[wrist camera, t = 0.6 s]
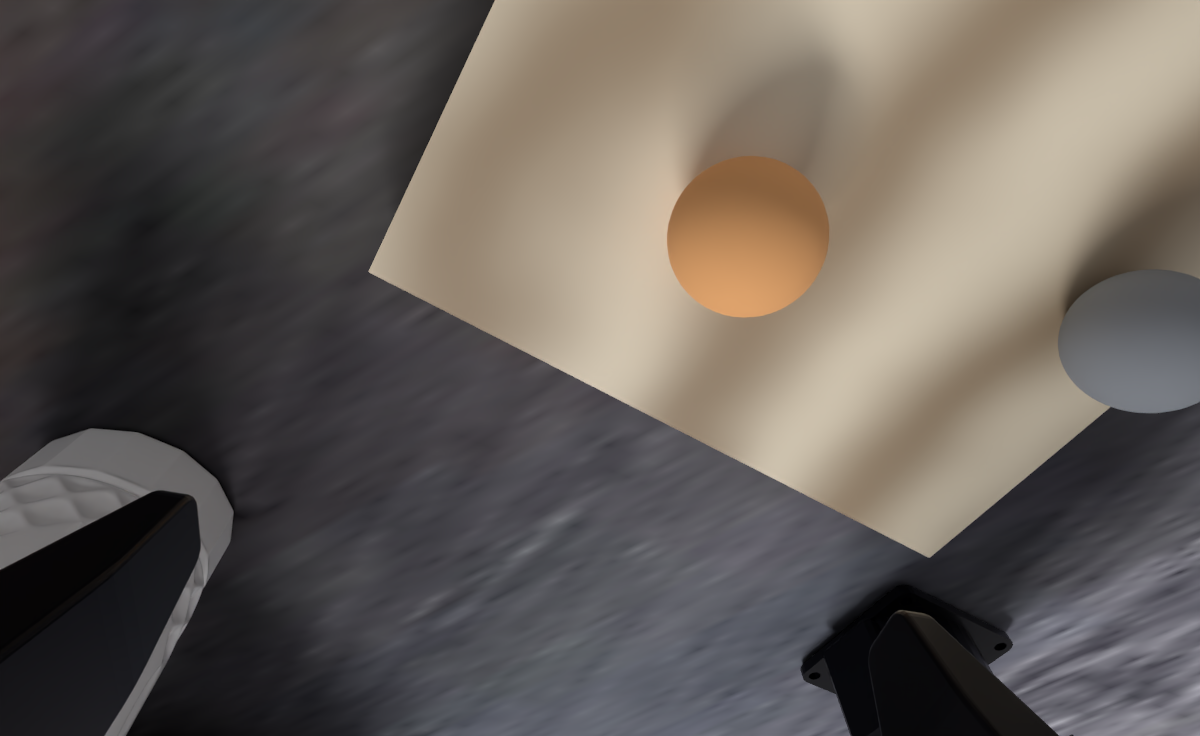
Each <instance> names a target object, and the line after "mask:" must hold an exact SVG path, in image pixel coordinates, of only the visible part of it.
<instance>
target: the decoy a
mask: <svg viewBox="0 0 1200 736" xmlns="http://www.w3.org/2000/svg"><path fill="white" fill-rule="evenodd" d="M1058 351H1059V357H1060V360H1061V363H1062V365H1063V368H1064V369H1065V371H1066V373H1067V375H1068V376H1069V378H1070V379H1071V380H1072V381H1073V383H1074V384H1075V385H1076V386H1077V387H1078V388H1079V389H1080V390H1082V391H1083V392H1084V393H1085V394H1087V395H1088V396H1090V397H1091V398H1093V399H1095V400H1097V401H1098V402H1100V403H1103V404H1105V405H1107V406H1110V407H1113V408H1116V409H1119V410H1124V411H1129V412H1135V413H1162V412H1169V411H1175V410H1179V409H1183V408H1186V407H1189V406H1191V405H1194V404H1196V403H1199V402H1200V279H1199V278H1196V277H1194V276H1191V275H1189V274H1185V273H1180V272H1176V271H1171V270H1158V269H1149V270H1137V271H1131V272H1127V273H1123V274H1119V275H1116V276H1113V277H1110V278H1108V279H1106V280H1104V281H1101V282H1100V283H1098V284H1096V285H1095V286H1093V287H1091V288H1090V289H1088V290H1087V291H1086V292H1084V293H1083V294H1082V295H1081V296H1080V297H1079V298H1078V299H1077V300H1076V301H1075V302H1074V303H1073V304H1072V306H1071V307H1070V308H1069V310H1068V311H1067V313H1066V315H1065V317H1064V319H1063V321H1062V323H1061V326H1060V330H1059V335H1058Z"/></svg>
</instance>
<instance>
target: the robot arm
mask: <svg viewBox="0 0 1200 736" xmlns="http://www.w3.org/2000/svg"><path fill="white" fill-rule="evenodd" d="M200 549H201V539H200V529H199V518H198V508H197V502H196V500H195V498H194V497H193V496H191V495H188V494H182V493H176V492H170V491H164V490H157V491H153V492H151V493H148V494H146V495H144V496H142V497H140V498H138V499H137V500H135V501H133V502H131V503H129V504H127V505H125V506H123V507H121V508H119V509H117V510H115V511H113V512H111V513H109V514H107V515H105V516H103V517H102V518H100V519H98V520H96V521H94V522H92V523H90V524H88V525H86V526H84V527H82V528H80V529H78V530H76V531H74V532H72V533H70V534H69V535H67V536H65V537H63V538H61V539H59V540H57V541H55V542H53V543H51V544H49V545H47V546H45V547H43V548H41V549H39V550H37V551H35V552H34V553H32V554H30V555H28V556H26V557H24V558H22V559H20V560H18V561H16V562H14V563H12V564H10V565H8V566H6V567H4V568H2V569H0V736H105V734H106V733H107V731H108V730H109V728H110V727H111V725H112V723H113V722H114V720H115V719H116V717H117V715H118V714H119V712H120V711H121V709H122V708H123V706H124V704H125V703H126V701H127V699H128V697H129V696H130V694H131V692H132V691H133V689H134V687H135V686H136V684H137V682H138V680H139V678H140V676H141V674H142V672H143V670H144V669H145V667H146V665H147V663H148V661H149V659H150V657H151V655H152V653H153V650H154V648H155V646H156V644H157V642H158V640H159V638H160V636H161V634H162V632H163V630H164V628H165V626H166V624H167V622H168V620H169V618H170V616H171V614H172V612H173V610H174V608H175V606H176V604H177V602H178V600H179V598H180V596H181V594H182V592H183V590H184V588H185V586H186V584H187V582H188V580H189V578H190V576H191V574H192V572H193V570H194V568H195V566H196V563H197V561H198V558H199V554H200ZM1012 645H1013V644H1012V641H1011V640H1010V638H1009V636H1008V635H1007V634H1006V633H1005V632H1004V631H1002V630H1000V629H997V628H995V627H993V626H991V625H989V624H987V623H985V622H983V621H981V620H979V619H977V618H975V617H973V616H971V615H969V614H967V613H965V612H963V611H961V610H959V609H956V608H954V607H952V606H950V605H948V604H946V603H944V602H942V601H940V600H938V599H936V598H934V597H932V596H930V595H928V594H926V593H924V592H922V591H920V590H918V589H916V588H913V587H911V586H908V585H901V586H898V587H896V588H894V589H893V590H892V591H890V592H889V593H888V594H887V595H886V596H884V597H883V598H882V599H881V600H880V601H878V602H877V603H876V604H875V605H874V606H872V607H871V608H870V609H869V610H868V611H866V612H865V613H864V614H863V615H862V616H860V617H859V618H858V619H857V620H856V621H854V622H853V623H852V624H851V625H850V626H848V627H847V628H846V629H845V630H844V631H842V632H841V633H840V634H839V635H838V636H836V637H835V638H834V639H833V640H832V641H830V642H829V643H828V644H827V645H826V646H824V647H823V648H822V649H821V650H820V651H818V652H817V653H816V654H815V655H814V656H812V657H811V658H810V659H809V660H808V661H806V662H805V663H804V664H803V665H802V666H801V673H802V676H803V679H804V680H805V681H806V682H808V683H810V684H813V685H815V686H818V687H820V688H823V689H825V690H828V691H830V692H832V693H835V694H836V695H837V698H838V701H839V704H840V707H841V710H842V712H843V715H844V718H845V721H846V724H847V727H848V730H849V733H850V735H851V736H1059V735H1058V734H1057V733H1056V732H1055V731H1053V730H1052V729H1051V728H1050V727H1049V726H1048V725H1047V724H1046V723H1045V722H1044V721H1043V720H1042V719H1041V718H1040V717H1038V716H1037V715H1036V714H1035V713H1034V712H1033V711H1032V710H1031V709H1030V708H1029V707H1028V706H1027V705H1026V704H1025V703H1023V702H1022V701H1021V700H1020V699H1019V698H1018V697H1017V696H1016V695H1015V694H1014V693H1013V692H1012V691H1011V690H1009V689H1008V688H1007V687H1006V686H1005V685H1004V684H1003V683H1002V682H1001V681H1000V680H999V679H998V678H997V677H996V676H994V674H993V673H992V671H991V669H990V667H989V666H988V665H989V664H990V663H992V662H993V661H995V660H996V659H997V658H999V657H1000V656H1002V655H1003V654H1004V653H1006V652H1007V651H1009V650H1010V649H1011V648H1012ZM1070 736H1073V735H1070Z"/></svg>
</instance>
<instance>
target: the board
mask: <svg viewBox="0 0 1200 736" xmlns="http://www.w3.org/2000/svg"><path fill="white" fill-rule="evenodd" d="M741 156H760V157H767V158H772V159H776V160H778V161H781V162H783V163H786V164H788V165H789V166H791V167H793V168H794V169H796V170H798V171H799V172H800V173H801V174H803V175H804V176H805V177H806V178H807V179H808V180H809V181H810V182H811V183H812V185H813V186H814V187H815V189H816V190H817V192H818V193H819V195H820V197H821V199H822V201H823V203H824V206H825V209H826V213H827V216H828V221H829V245H828V251H827V255H826V258H825V261H824V264H823V266H822V268H821V270H820V272H819V274H818V276H817V277H816V279H815V281H814V282H813V283H812V285H811V286H810V287H809V288H808V289H807V290H806V292H805V293H804V294H803V295H801V296H800V297H799V298H798V299H797V300H796V301H794V302H793V303H791V304H790V305H788V306H786V307H784V308H783V309H781V310H778V311H776V312H773V313H771V314H767V315H763V316H758V317H745V318H742V317H731V316H726V315H723V314H720V313H717V312H714V311H712V310H710V309H708V308H706V307H704V306H703V305H701V304H700V303H698V302H697V301H696V300H694V299H693V298H692V297H691V296H690V295H689V294H688V293H687V292H686V291H685V289H684V288H683V287H682V286H681V284H680V283H679V281H678V279H677V278H676V276H675V274H674V271H673V269H672V267H671V264H670V260H669V256H668V248H667V231H668V224H669V220H670V217H671V213H672V211H673V208H674V206H675V204H676V202H677V200H678V198H679V196H680V195H681V193H682V192H683V191H684V189H685V188H686V187H687V185H688V184H689V183H690V182H691V181H692V180H693V179H694V178H695V177H697V176H698V175H699V174H700V173H702V172H703V171H704V170H706V169H708V168H709V167H711V166H713V165H715V164H717V163H719V162H721V161H724V160H728V159H731V158H736V157H741ZM1149 269H1158V270H1171V271H1176V272H1180V273H1185V274H1189V275H1191V276H1194V277H1196V278H1199V279H1200V0H495V1H494V3H493V6H492V8H491V10H490V12H489V14H488V16H487V18H486V21H485V23H484V25H483V27H482V29H481V31H480V34H479V36H478V38H477V40H476V42H475V44H474V46H473V49H472V51H471V53H470V55H469V57H468V59H467V61H466V64H465V66H464V68H463V70H462V72H461V74H460V76H459V79H458V81H457V83H456V85H455V87H454V89H453V91H452V94H451V96H450V98H449V100H448V102H447V104H446V106H445V109H444V111H443V113H442V115H441V117H440V119H439V121H438V124H437V126H436V128H435V130H434V132H433V134H432V137H431V139H430V141H429V143H428V145H427V147H426V149H425V152H424V154H423V156H422V158H421V160H420V162H419V164H418V167H417V169H416V171H415V173H414V175H413V177H412V179H411V182H410V184H409V186H408V188H407V190H406V192H405V194H404V197H403V199H402V201H401V203H400V205H399V207H398V209H397V212H396V214H395V216H394V218H393V220H392V222H391V225H390V227H389V229H388V231H387V233H386V235H385V237H384V240H383V242H382V244H381V246H380V248H379V250H378V252H377V255H376V257H375V259H374V261H373V263H372V265H371V267H370V270H369V273H371V274H373V275H375V276H377V277H379V278H381V279H383V280H385V281H387V282H389V283H391V284H393V285H395V286H397V287H399V288H401V289H403V290H405V291H407V292H409V293H411V294H413V295H414V296H416V297H418V298H420V299H422V300H424V301H426V302H428V303H430V304H432V305H434V306H436V307H438V308H440V309H442V310H444V311H446V312H448V313H450V314H452V315H454V316H456V317H458V318H460V319H462V320H464V321H465V322H467V323H469V324H471V325H473V326H475V327H477V328H479V329H481V330H483V331H485V332H487V333H489V334H491V335H493V336H495V337H497V338H499V339H501V340H503V341H505V342H507V343H509V344H511V345H513V346H514V347H516V348H518V349H520V350H522V351H524V352H526V353H528V354H530V355H532V356H534V357H536V358H538V359H540V360H542V361H544V362H546V363H548V364H550V365H552V366H554V367H556V368H558V369H560V370H562V371H564V372H565V373H567V374H569V375H571V376H573V377H575V378H577V379H579V380H581V381H583V382H585V383H587V384H589V385H591V386H593V387H595V388H597V389H599V390H601V391H603V392H605V393H607V394H609V395H611V396H613V397H614V398H616V399H618V400H620V401H622V402H624V403H626V404H628V405H630V406H632V407H634V408H636V409H638V410H640V411H642V412H644V413H646V414H648V415H650V416H652V417H654V418H656V419H658V420H660V421H662V422H664V423H665V424H667V425H669V426H671V427H673V428H675V429H677V430H679V431H681V432H683V433H685V434H687V435H689V436H691V437H693V438H695V439H697V440H699V441H701V442H703V443H705V444H707V445H709V446H711V447H713V448H715V449H716V450H718V451H720V452H722V453H724V454H726V455H728V456H730V457H732V458H734V459H736V460H738V461H740V462H742V463H744V464H746V465H748V466H750V467H752V468H754V469H756V470H758V471H760V472H762V473H764V474H765V475H767V476H769V477H771V478H773V479H775V480H777V481H779V482H781V483H783V484H785V485H787V486H789V487H791V488H793V489H795V490H797V491H799V492H801V493H803V494H805V495H807V496H809V497H811V498H813V499H815V500H816V501H818V502H820V503H822V504H824V505H826V506H828V507H830V508H832V509H834V510H836V511H838V512H840V513H842V514H844V515H846V516H848V517H850V518H852V519H854V520H856V521H858V522H860V523H862V524H864V525H865V526H867V527H869V528H871V529H873V530H875V531H877V532H879V533H881V534H883V535H885V536H887V537H889V538H891V539H893V540H895V541H897V542H899V543H901V544H903V545H905V546H907V547H909V548H911V549H913V550H915V551H916V552H918V553H920V554H922V555H924V556H926V557H928V558H930V557H931V556H932V555H934V554H935V553H936V552H937V551H938V550H940V549H941V548H942V547H943V546H944V545H946V544H947V543H948V542H949V541H950V540H952V539H953V538H954V537H955V536H956V535H958V534H959V533H960V532H961V531H962V530H964V529H965V528H966V527H967V526H968V525H970V524H971V523H972V522H973V521H974V520H976V519H977V518H978V517H979V516H980V515H982V514H983V513H984V512H985V511H986V510H988V509H989V508H990V507H991V506H992V505H994V504H995V503H996V502H997V501H998V500H1000V499H1001V498H1002V497H1003V496H1004V495H1006V494H1007V493H1008V492H1009V491H1010V490H1012V489H1013V488H1014V487H1015V486H1016V485H1018V484H1019V483H1020V482H1021V481H1022V480H1024V479H1025V478H1026V477H1027V476H1028V475H1030V474H1031V473H1032V472H1033V471H1034V470H1036V469H1037V468H1038V467H1039V466H1040V465H1042V464H1043V463H1044V462H1045V461H1046V460H1048V459H1049V458H1050V457H1051V456H1052V455H1054V454H1055V453H1056V452H1057V451H1058V450H1060V449H1061V448H1062V447H1063V446H1064V445H1066V444H1067V443H1068V442H1069V441H1070V440H1072V439H1073V438H1074V437H1075V436H1076V435H1078V434H1079V433H1080V432H1081V431H1082V430H1084V429H1085V428H1086V427H1087V426H1088V425H1090V424H1091V423H1092V422H1093V421H1094V420H1096V419H1097V418H1098V417H1099V416H1100V415H1102V414H1103V413H1104V412H1105V411H1106V410H1108V409H1109V408H1110V406H1107V405H1105V404H1103V403H1100V402H1098V401H1097V400H1095V399H1093V398H1091V397H1090V396H1088V395H1087V394H1085V393H1084V392H1083V391H1082V390H1080V389H1079V388H1078V387H1077V386H1076V385H1075V384H1074V383H1073V381H1072V380H1071V379H1070V378H1069V376H1068V375H1067V373H1066V371H1065V369H1064V368H1063V365H1062V363H1061V360H1060V357H1059V351H1058V335H1059V330H1060V326H1061V323H1062V321H1063V319H1064V317H1065V315H1066V313H1067V311H1068V310H1069V308H1070V307H1071V306H1072V304H1073V303H1074V302H1075V301H1076V300H1077V299H1078V298H1079V297H1080V296H1081V295H1082V294H1083V293H1084V292H1086V291H1087V290H1088V289H1090V288H1091V287H1093V286H1095V285H1096V284H1098V283H1100V282H1101V281H1104V280H1106V279H1108V278H1110V277H1113V276H1116V275H1119V274H1123V273H1127V272H1131V271H1137V270H1149Z"/></svg>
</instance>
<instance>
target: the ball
mask: <svg viewBox="0 0 1200 736" xmlns="http://www.w3.org/2000/svg"><path fill="white" fill-rule="evenodd" d="M828 245H829V221H828V216H827V213H826V209H825V206H824V203H823V201H822V199H821V197H820V195H819V193H818V192H817V190H816V189H815V187H814V186H813V185H812V183H811V182H810V181H809V180H808V179H807V178H806V177H805V176H804V175H803V174H801V173H800V172H799V171H798V170H796V169H794V168H793V167H791V166H789V165H788V164H786V163H783V162H781V161H778V160H776V159H772V158H767V157H760V156H741V157H736V158H731V159H728V160H724V161H721V162H719V163H717V164H715V165H713V166H711V167H709V168H708V169H706V170H704V171H703V172H702V173H700V174H699V175H698V176H697V177H695V178H694V179H693V180H692V181H691V182H690V183H689V184H688V185H687V187H686V188H685V189H684V191H683V192H682V193H681V195H680V196H679V198H678V200H677V202H676V204H675V206H674V208H673V211H672V213H671V217H670V220H669V224H668V231H667V248H668V256H669V260H670V264H671V267H672V269H673V271H674V274H675V276H676V278H677V279H678V281H679V283H680V284H681V286H682V287H683V288H684V289H685V291H686V292H687V293H688V294H689V295H690V296H691V297H692V298H693V299H694V300H696V301H697V302H698V303H700V304H701V305H703V306H704V307H706V308H708V309H710V310H712V311H714V312H717V313H720V314H723V315H726V316H731V317H742V318H745V317H758V316H763V315H767V314H771V313H773V312H776V311H778V310H781V309H783V308H784V307H786V306H788V305H790V304H791V303H793V302H794V301H796V300H797V299H798V298H799V297H800V296H801V295H803V294H804V293H805V292H806V290H807V289H808V288H809V287H810V286H811V285H812V283H813V282H814V281H815V279H816V277H817V276H818V274H819V272H820V270H821V268H822V266H823V264H824V261H825V258H826V255H827V251H828Z"/></svg>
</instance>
